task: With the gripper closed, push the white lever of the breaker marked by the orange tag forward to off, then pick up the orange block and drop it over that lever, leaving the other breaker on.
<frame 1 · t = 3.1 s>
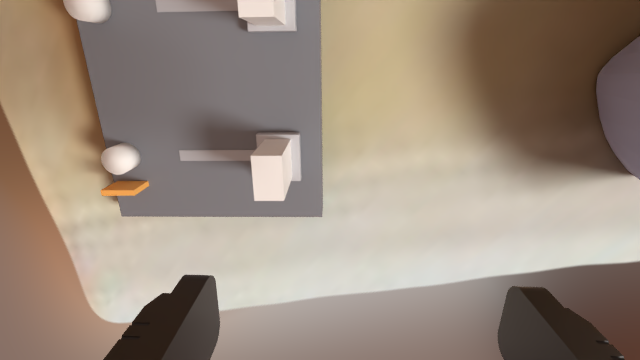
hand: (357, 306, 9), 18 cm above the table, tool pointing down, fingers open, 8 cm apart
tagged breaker: (274, 165, 22), point 5 cm above the table, slide at 0.0 cm
breaker panel: (214, 83, 25), on the table
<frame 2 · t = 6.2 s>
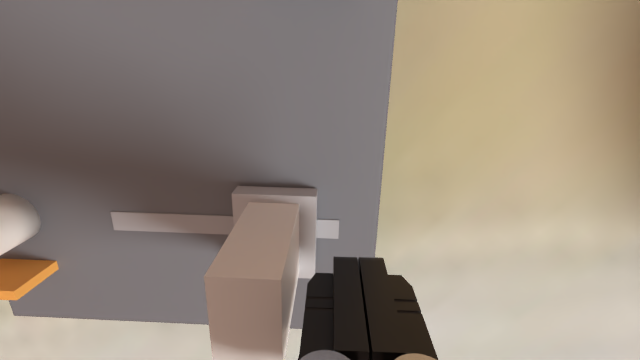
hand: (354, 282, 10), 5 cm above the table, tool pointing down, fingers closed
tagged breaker: (265, 265, 11), point 5 cm above the table, slide at 0.9 cm, touching gripper
breaker panel: (182, 89, 14), on the table
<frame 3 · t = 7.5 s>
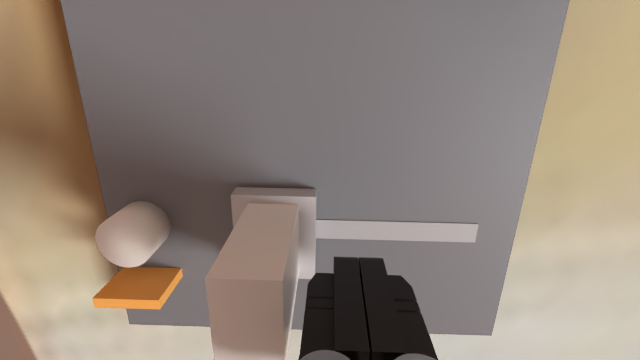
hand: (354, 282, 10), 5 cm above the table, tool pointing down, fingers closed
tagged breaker: (265, 266, 11), point 5 cm above the table, slide at 6.2 cm, touching gripper
breaker panel: (312, 92, 13), on the table
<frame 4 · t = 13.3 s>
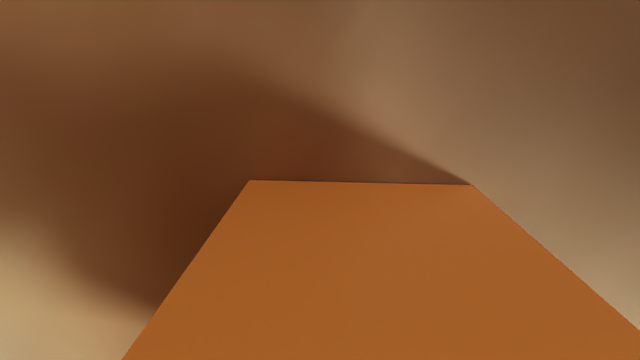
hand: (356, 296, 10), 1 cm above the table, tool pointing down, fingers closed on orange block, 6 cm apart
orange block: (354, 277, 11), on the table, touching gripper
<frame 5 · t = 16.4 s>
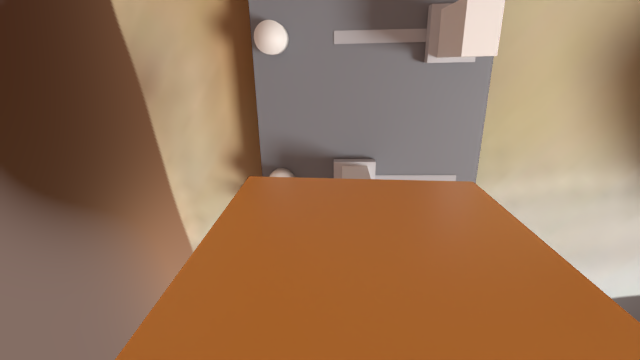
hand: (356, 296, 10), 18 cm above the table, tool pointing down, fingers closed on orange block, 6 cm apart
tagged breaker: (355, 193, 23), point 5 cm above the table, slide at 6.1 cm
orange block: (354, 273, 11), point 17 cm above the table, touching gripper
untagged breaker: (464, 31, 19), point 5 cm above the table, slide at 0.0 cm
breaker panel: (367, 109, 26), on the table
when the fingers open (4 cm above the table, at t = 19.7 s): orange block drops 1 cm, resting on breaker panel.
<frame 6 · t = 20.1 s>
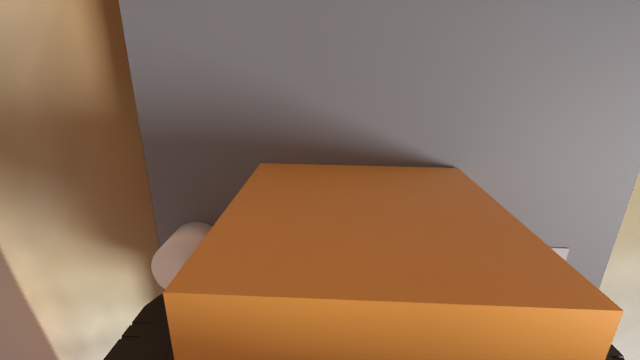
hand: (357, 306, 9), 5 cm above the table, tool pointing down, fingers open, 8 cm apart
orange block: (353, 251, 12), point 2 cm above the table, touching breaker panel
breaker panel: (382, 103, 12), on the table
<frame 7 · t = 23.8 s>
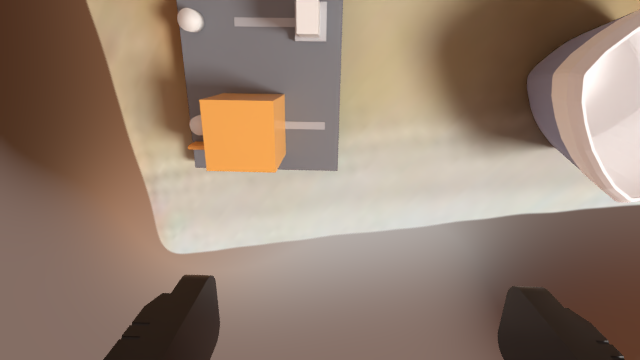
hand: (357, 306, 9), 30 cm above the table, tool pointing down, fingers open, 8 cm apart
bowl: (583, 89, 36), on the table
orange block: (255, 124, 36), point 2 cm above the table, touching breaker panel
untagged breaker: (309, 19, 30), point 5 cm above the table, slide at 0.0 cm
breaker panel: (265, 75, 36), on the table
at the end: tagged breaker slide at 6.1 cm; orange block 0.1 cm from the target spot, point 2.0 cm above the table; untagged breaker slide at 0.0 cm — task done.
